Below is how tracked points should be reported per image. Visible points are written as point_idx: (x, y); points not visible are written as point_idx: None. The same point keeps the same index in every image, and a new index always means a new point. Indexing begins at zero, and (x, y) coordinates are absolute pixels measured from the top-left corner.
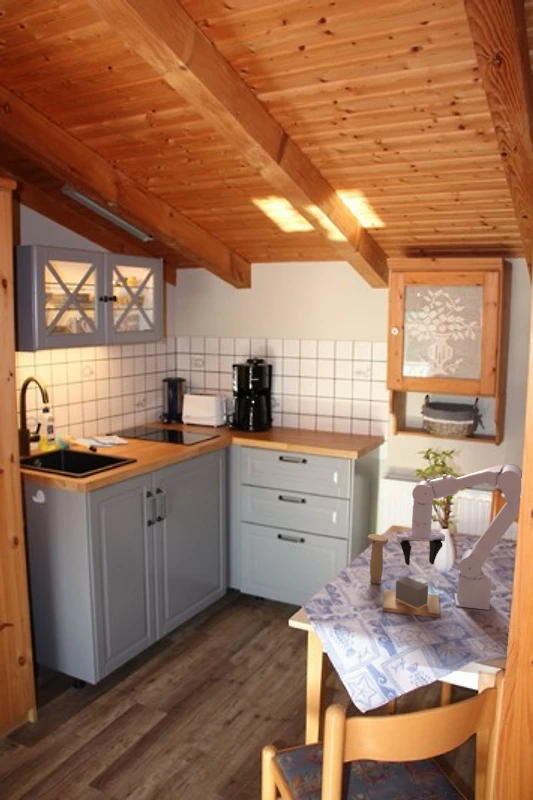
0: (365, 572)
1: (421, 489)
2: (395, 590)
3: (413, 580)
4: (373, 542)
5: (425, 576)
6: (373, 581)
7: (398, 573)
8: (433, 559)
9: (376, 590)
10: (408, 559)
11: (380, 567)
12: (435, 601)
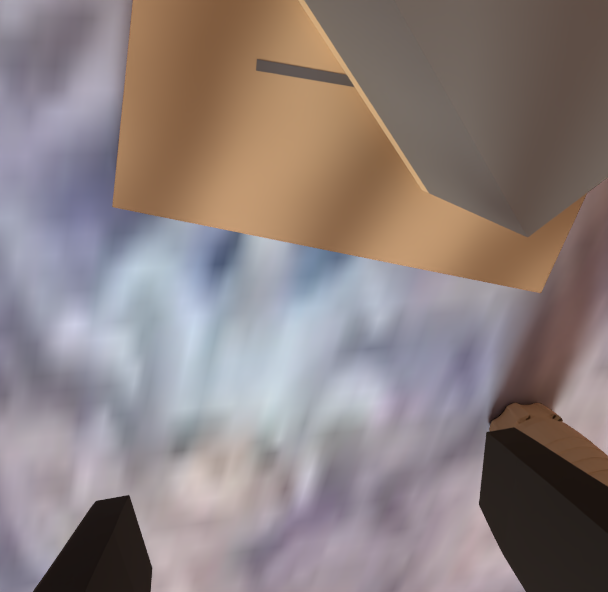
0: None
1: None
2: (468, 277)
3: (483, 104)
4: None
5: (162, 537)
6: (552, 411)
7: (333, 546)
8: (73, 573)
9: (558, 315)
10: (585, 486)
11: None
12: (163, 59)
